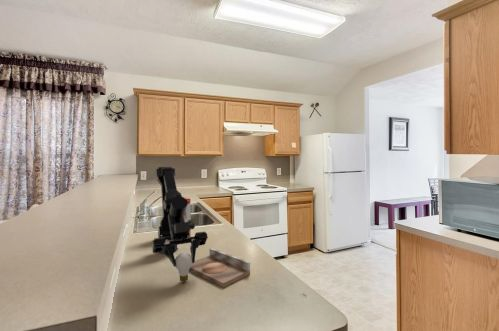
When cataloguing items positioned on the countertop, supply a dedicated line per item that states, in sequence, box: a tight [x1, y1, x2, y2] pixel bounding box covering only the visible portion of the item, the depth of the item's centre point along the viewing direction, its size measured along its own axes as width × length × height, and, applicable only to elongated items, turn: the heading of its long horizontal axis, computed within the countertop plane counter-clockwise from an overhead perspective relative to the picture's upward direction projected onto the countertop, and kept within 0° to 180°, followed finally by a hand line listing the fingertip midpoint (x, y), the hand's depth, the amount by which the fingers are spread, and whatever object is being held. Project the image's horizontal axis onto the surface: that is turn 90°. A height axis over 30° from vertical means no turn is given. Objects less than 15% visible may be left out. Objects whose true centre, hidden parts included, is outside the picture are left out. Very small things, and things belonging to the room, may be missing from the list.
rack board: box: [189, 247, 251, 288], centre depth 96 cm, size 22×13×4 cm, turn 48°
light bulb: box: [175, 252, 192, 283], centre depth 88 cm, size 6×6×10 cm
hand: (184, 264), depth 87 cm, fingers closed on light bulb, 6 cm apart
